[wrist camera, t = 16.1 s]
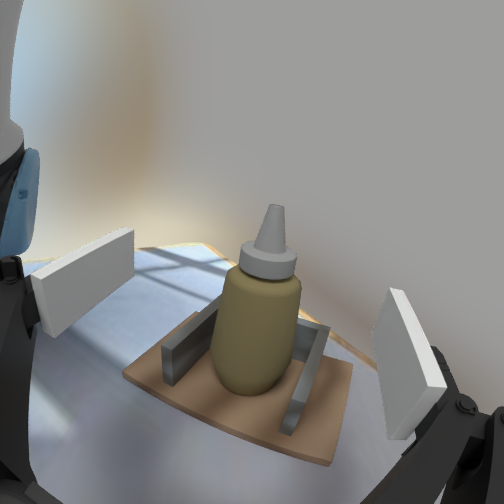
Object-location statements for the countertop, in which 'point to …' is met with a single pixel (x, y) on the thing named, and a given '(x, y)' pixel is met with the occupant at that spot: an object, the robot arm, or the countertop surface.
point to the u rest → (257, 406)
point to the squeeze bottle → (258, 312)
